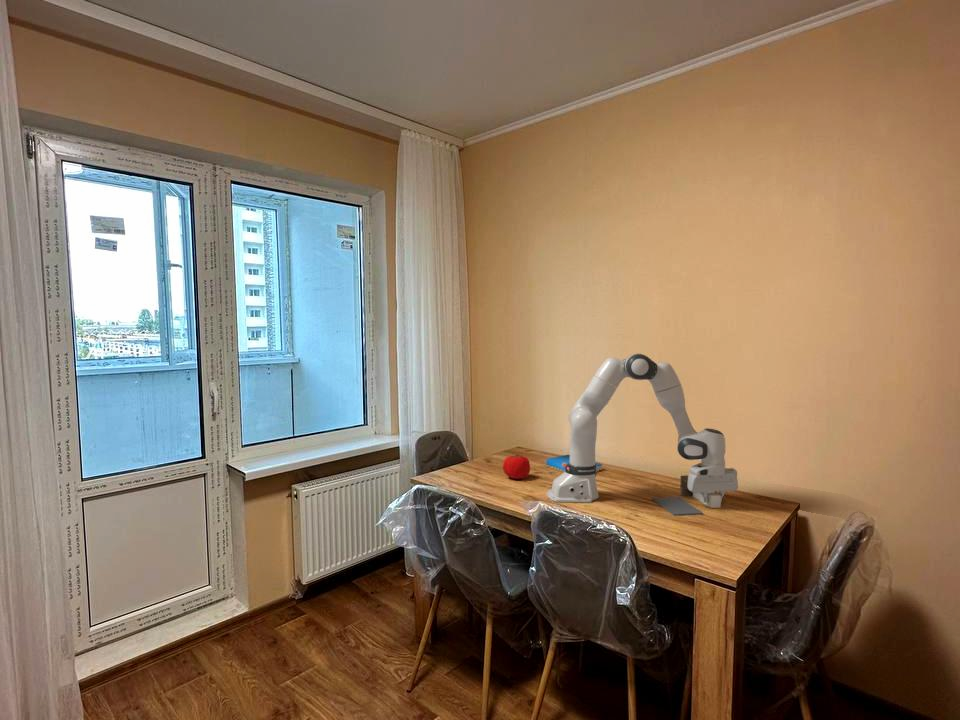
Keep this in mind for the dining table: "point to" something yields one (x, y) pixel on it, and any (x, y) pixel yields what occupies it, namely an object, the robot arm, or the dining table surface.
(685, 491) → the brown box
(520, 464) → the tomato
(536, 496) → the dining table surface
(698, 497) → the block
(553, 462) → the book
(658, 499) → the mat
